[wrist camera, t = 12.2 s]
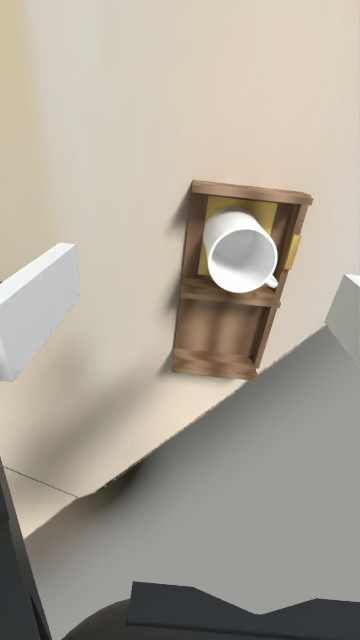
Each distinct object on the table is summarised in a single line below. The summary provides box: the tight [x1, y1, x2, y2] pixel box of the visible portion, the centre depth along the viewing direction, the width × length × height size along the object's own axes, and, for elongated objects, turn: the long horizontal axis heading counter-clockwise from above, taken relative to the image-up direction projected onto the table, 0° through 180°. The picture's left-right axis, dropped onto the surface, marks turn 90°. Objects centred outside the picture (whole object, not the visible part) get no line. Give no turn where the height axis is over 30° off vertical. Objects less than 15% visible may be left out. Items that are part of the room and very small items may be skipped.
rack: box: [172, 180, 313, 381], centre depth 46 cm, size 16×30×7 cm, turn 174°
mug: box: [203, 206, 278, 293], centre depth 40 cm, size 12×8×12 cm
